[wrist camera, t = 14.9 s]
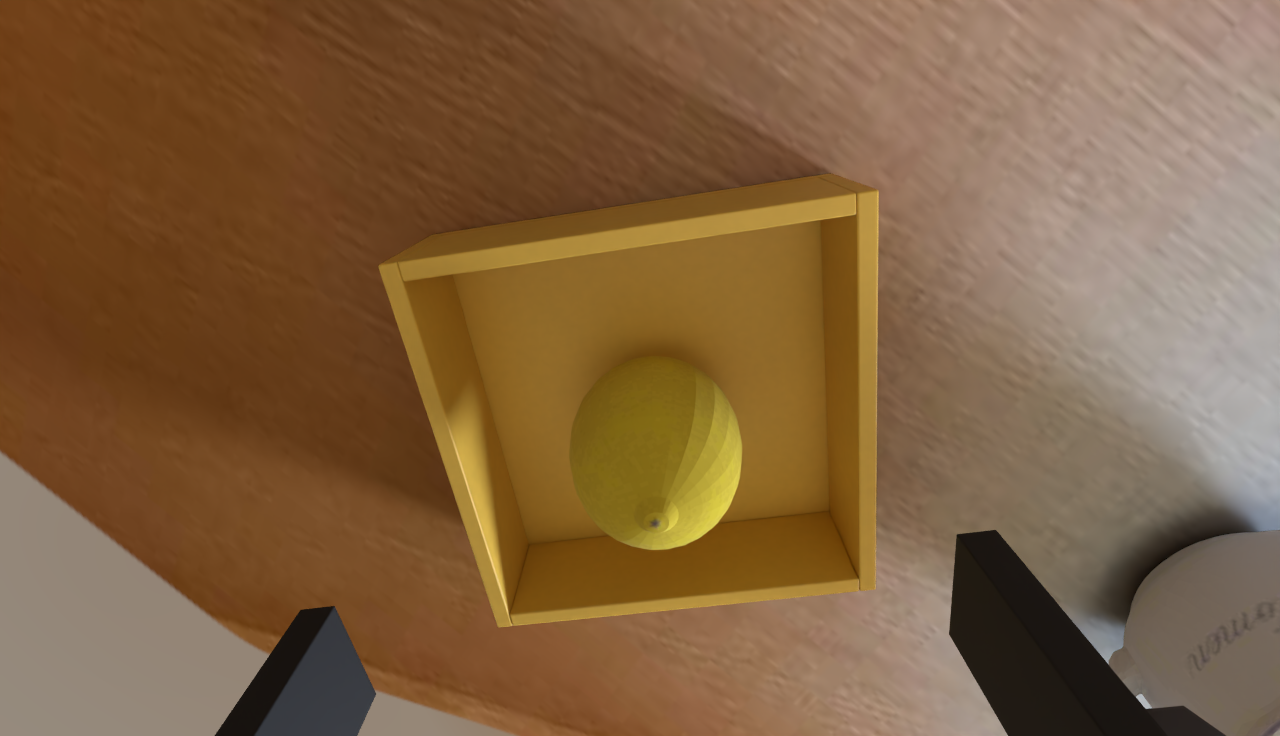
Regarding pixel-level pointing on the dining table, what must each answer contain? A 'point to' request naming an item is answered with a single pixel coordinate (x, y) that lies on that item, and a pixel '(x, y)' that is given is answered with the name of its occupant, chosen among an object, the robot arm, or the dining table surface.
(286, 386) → the dining table surface
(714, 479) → the lemon
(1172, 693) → the teacup
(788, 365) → the yellow bin
